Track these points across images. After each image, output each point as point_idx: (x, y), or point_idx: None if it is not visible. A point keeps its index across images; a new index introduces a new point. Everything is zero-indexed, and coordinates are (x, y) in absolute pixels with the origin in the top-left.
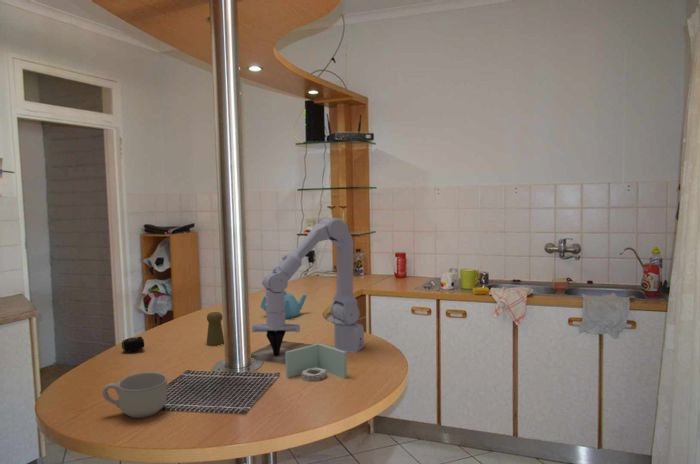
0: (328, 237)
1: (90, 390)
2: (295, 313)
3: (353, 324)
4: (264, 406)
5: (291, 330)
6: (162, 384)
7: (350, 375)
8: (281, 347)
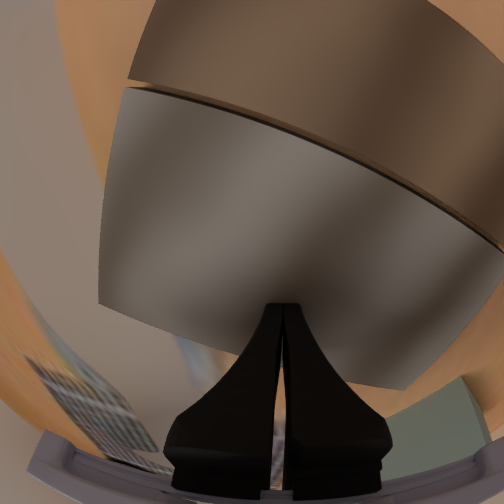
0: None
1: (9, 396)
2: None
3: None
4: None
5: (431, 483)
6: None
7: (497, 396)
8: (286, 122)
